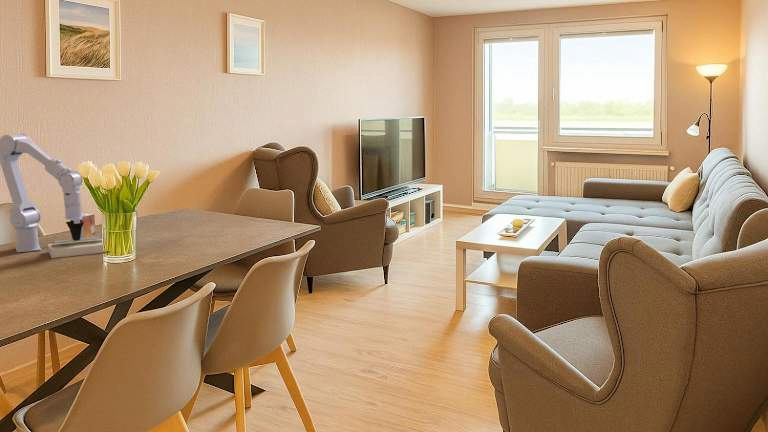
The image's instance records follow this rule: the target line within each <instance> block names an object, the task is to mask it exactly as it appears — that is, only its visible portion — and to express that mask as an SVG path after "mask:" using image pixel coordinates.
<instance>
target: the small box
mask: <svg viewBox="0 0 768 432" xmlns="http://www.w3.org/2000/svg"><path fill="white" fill-rule="evenodd" d="M82 215H86V217H83V218H81V219H80V220H82V221H83V222H84V224H83V226H82V229H81V237H80V239H83V238H93V237H97V236H96V235H97V234H96V219H95V217H96V216H95V213H82ZM72 239H73V238H72V237H71V240H72ZM86 241H88V240H86ZM76 242H77V241H76Z"/></svg>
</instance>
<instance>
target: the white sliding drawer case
mask: <svg viewBox="0 0 768 432" xmlns="http://www.w3.org/2000/svg"><path fill="white" fill-rule="evenodd" d="M102 239H103V238H102ZM102 239H97V240H88V241H77V242H65V243H55V244H53V243H50V244H48V243H47V252H48V254H49V256H50V258H52V259H55V258H65V257H72V256H73V257H74V256H84V255H85V256H86V255H93V254H104V253H103V244H102ZM93 241H94V243H92V244H82V245H72V246H68V244H73V243H83V242H93Z"/></svg>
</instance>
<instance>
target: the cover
mask: <svg viewBox="0 0 768 432" xmlns="http://www.w3.org/2000/svg"><path fill="white" fill-rule="evenodd" d="M98 239H103V238H102V237H101V236H96V237H93V238H83V239H80V240H77V241H86V240H98ZM67 242H76V241H74V240H73V239H72V238H71V239H64V240H63V239H61V240H53V242H52V244H57V243H67Z"/></svg>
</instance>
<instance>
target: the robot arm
mask: <svg viewBox="0 0 768 432" xmlns="http://www.w3.org/2000/svg"><path fill="white" fill-rule="evenodd" d="M23 154H28V155H29V156H30V157H31V158H33V159H34V160H36V161H38V162H39V163H41V164H42V165H43V166H44V170H45V171H46V172H47V173H48V174H50V176H52V177H53V178H54V179H56V180H57V181H58V184H59V187H60V188H61V189H62V192H63V202H64V212H65V215H64V216H65V217H64V218H65V220H70V221H65V224H66V225H67V226H68V229H69V231H70V232H69V233H70V235H71V239H72V238H73V240H74V241H77V240H80V237H81V229H82V226H83V224H84V222H83V221H82V220H80V219H81V218H83V217H86V215H82V214H83V207H82V197H81V196H82V195H81V185H82V183H83V177H82V174H80V173H79V172H78V171H73V170H72V169H71V168H70V167H67V166H66V165H65V164H63V161H62V160H61V159H57V158H51V157H50V156H49V155H48V154H47V153H45V152H44V151H43V149H41V148H40V147H39V146H38V145H37V144H36V143H35V142H34V139H32V138H30V137H29V136H28V135H27V134H25V133H19V134H5V135H3V136H1V137H0V166H1V169H2V173H3V176H4V181H5V182H6V186H7V188H8V192H9V195H10V197H11V202H12V206H11V207H10V208H9V213H10V218H9V219H10V223H11V225H12V226H13V227H14V229H15V235H16V246H15V250H16V252H17V253H26V252H28V253H29V252H37V251H41V250H42V248H41V246H40V244H39V243H40V242H39V231H38V226H39V223H40V221H41V219H42V215H41V212H40V211H39V209H37V206H36V204H35V203H34V202H32V201H31V200H30V199H29V198H30V197H29V195H28V192H27V188H26V186H25V182H24V179H23V177H22V176H23V175H22V173H21V170H20V167H19V163H18V159H19V158H20V156H21V155H23Z"/></svg>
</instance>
